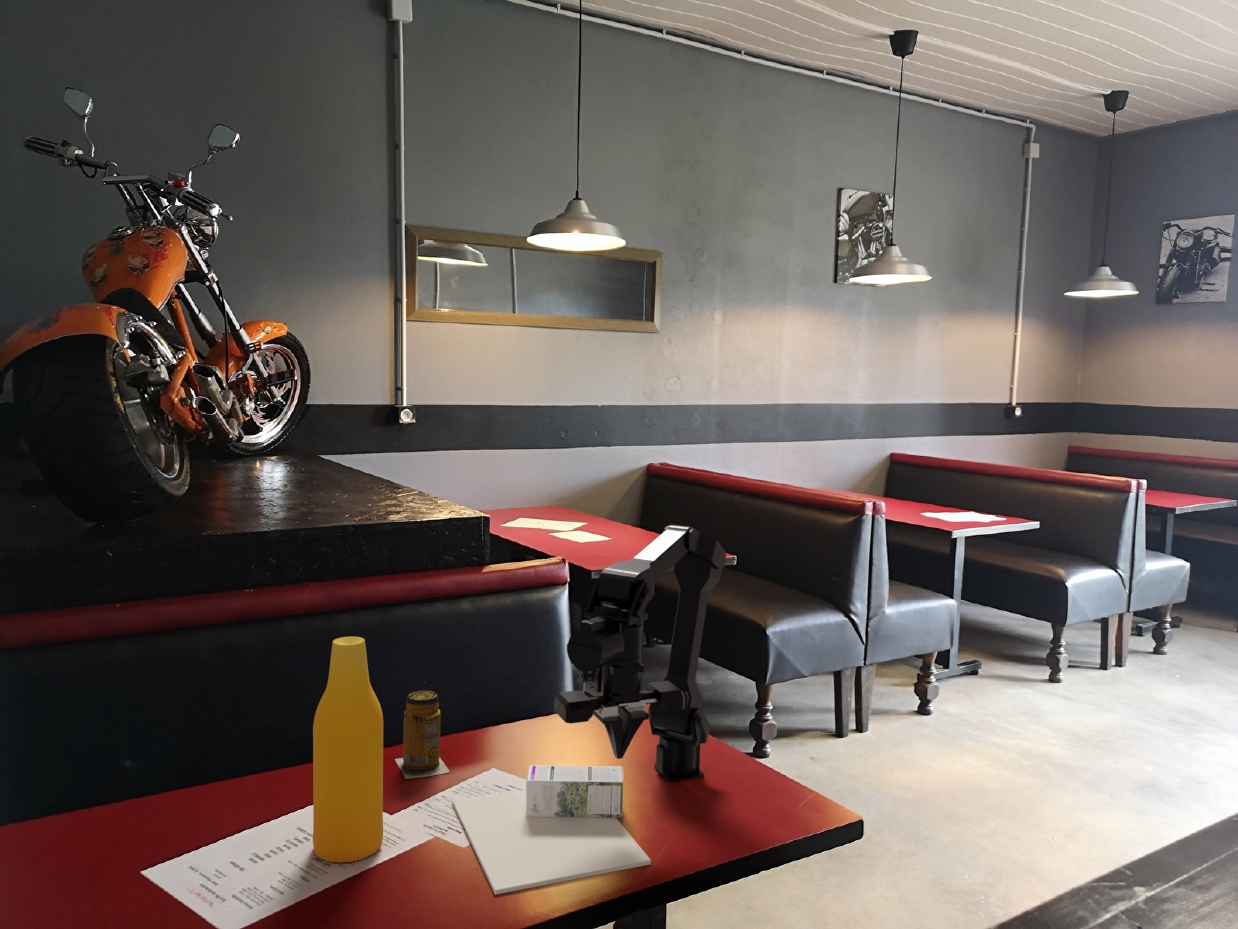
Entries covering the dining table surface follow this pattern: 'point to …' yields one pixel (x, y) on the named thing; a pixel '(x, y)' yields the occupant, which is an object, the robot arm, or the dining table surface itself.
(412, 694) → the condiment
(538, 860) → the mat
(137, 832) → the dining table surface
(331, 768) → the beer bottle
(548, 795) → the syrup box
